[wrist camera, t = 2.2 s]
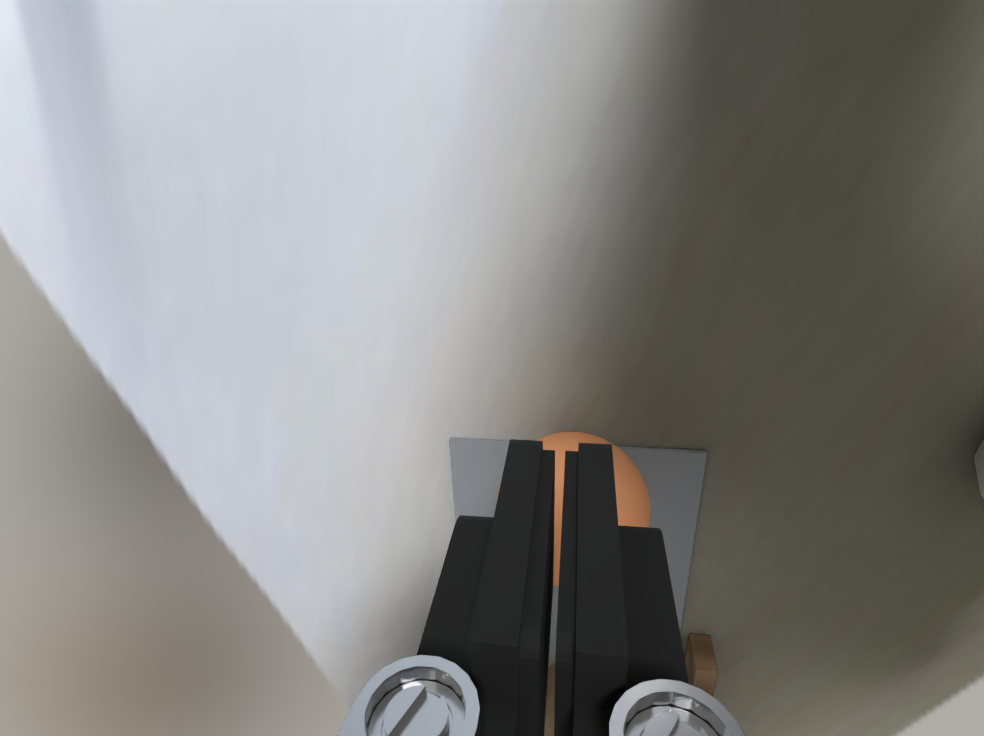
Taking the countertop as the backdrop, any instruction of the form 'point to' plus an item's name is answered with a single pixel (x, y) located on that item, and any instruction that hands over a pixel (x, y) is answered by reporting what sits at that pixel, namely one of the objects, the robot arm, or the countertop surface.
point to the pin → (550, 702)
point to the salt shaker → (980, 467)
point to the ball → (627, 484)
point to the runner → (663, 471)
